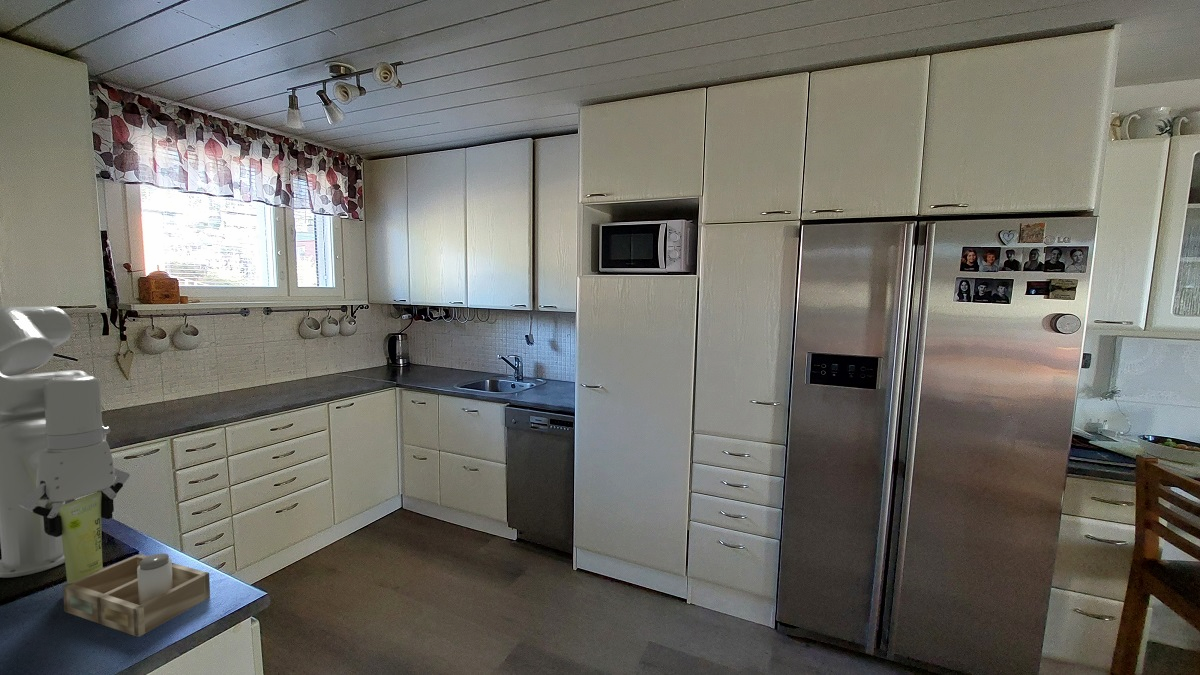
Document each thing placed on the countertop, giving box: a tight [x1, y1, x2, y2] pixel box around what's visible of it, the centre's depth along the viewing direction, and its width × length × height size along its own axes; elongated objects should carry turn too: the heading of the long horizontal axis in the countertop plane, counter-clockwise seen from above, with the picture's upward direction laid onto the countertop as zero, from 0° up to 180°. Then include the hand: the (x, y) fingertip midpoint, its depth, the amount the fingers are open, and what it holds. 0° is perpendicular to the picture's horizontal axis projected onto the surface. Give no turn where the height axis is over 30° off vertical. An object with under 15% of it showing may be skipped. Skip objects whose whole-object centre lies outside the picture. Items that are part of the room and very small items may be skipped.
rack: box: [62, 553, 211, 638], centre depth 94 cm, size 20×12×6 cm, turn 73°
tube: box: [57, 491, 104, 584], centre depth 98 cm, size 6×5×20 cm
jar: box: [137, 553, 173, 605], centre depth 93 cm, size 5×5×10 cm
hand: (80, 525), depth 98 cm, fingers closed on tube, 7 cm apart
